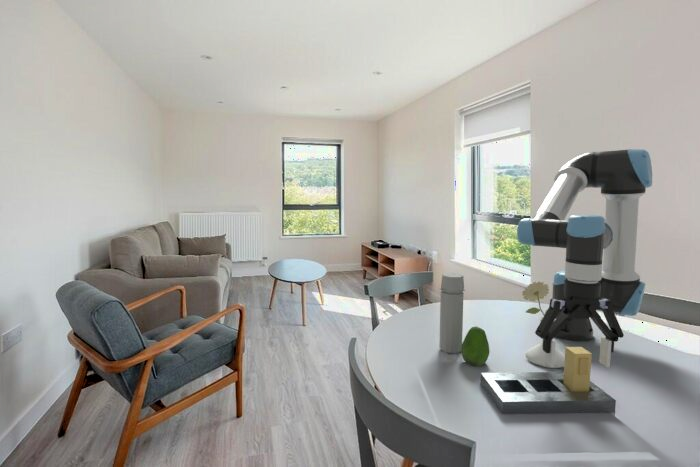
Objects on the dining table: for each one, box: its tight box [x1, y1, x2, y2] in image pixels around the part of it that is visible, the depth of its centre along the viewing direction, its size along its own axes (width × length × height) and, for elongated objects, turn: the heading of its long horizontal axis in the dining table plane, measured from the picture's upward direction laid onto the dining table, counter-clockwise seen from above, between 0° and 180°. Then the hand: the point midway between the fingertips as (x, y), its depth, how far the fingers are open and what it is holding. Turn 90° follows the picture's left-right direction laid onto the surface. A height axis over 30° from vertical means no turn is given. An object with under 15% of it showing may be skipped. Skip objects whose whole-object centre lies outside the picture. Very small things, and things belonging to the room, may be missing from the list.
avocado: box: [460, 326, 491, 367], centre depth 113 cm, size 8×8×12 cm
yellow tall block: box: [563, 346, 593, 392], centre depth 93 cm, size 4×5×12 cm
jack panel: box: [480, 371, 617, 417], centre depth 94 cm, size 26×14×4 cm, turn 91°
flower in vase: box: [522, 281, 565, 369], centre depth 114 cm, size 13×11×25 cm
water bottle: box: [439, 272, 466, 355], centre depth 125 cm, size 9×8×25 cm
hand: (577, 364), depth 94 cm, fingers open, 13 cm apart
